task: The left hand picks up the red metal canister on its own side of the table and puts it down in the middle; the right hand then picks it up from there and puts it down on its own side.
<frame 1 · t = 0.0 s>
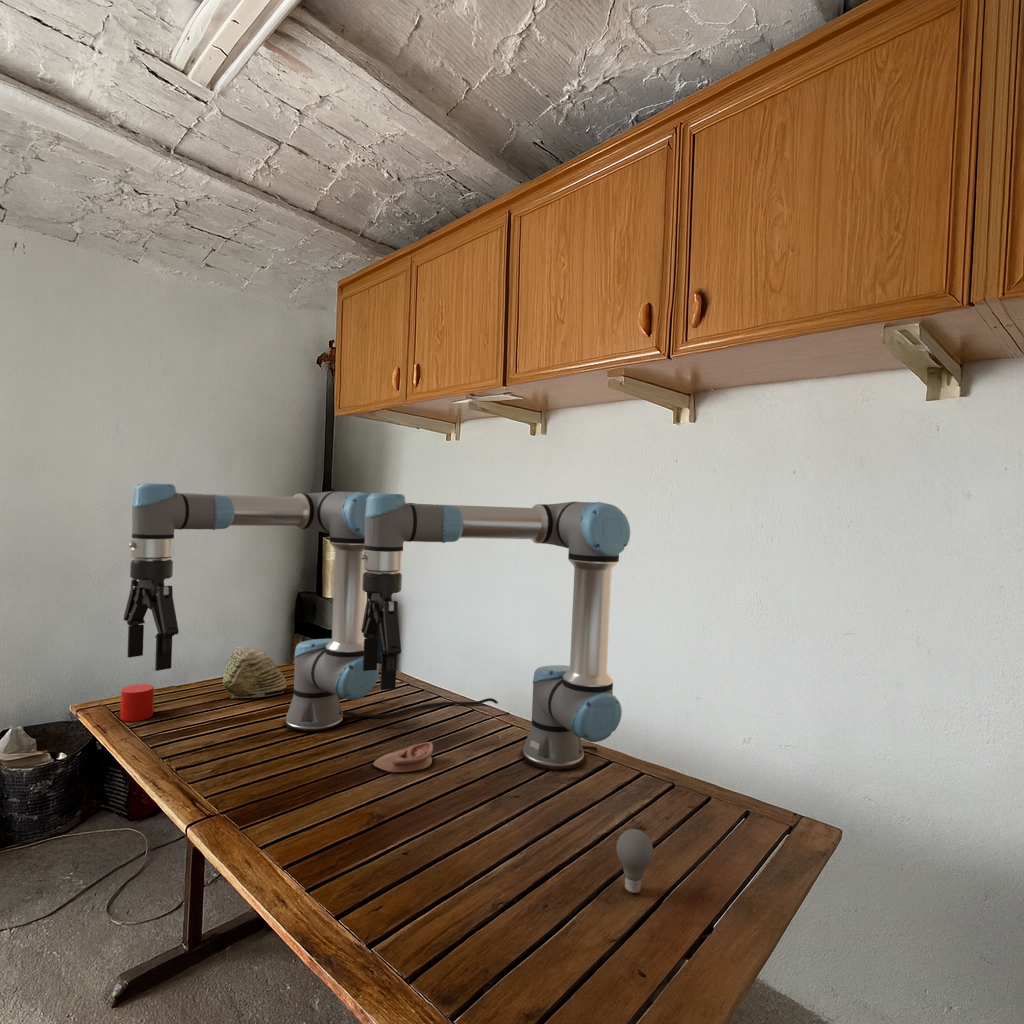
left hand: (148, 662, 129), 28 cm above the table, tool pointing down, fingers open, 13 cm apart
right hand: (378, 679, 125), 28 cm above the table, tool pointing down, fingers open, 13 cm apart
anatomical model: (403, 763, 152), on the table
fossil: (254, 694, 198), on the table
light bulb: (632, 891, 106), on the table
canister: (136, 716, 175), on the table
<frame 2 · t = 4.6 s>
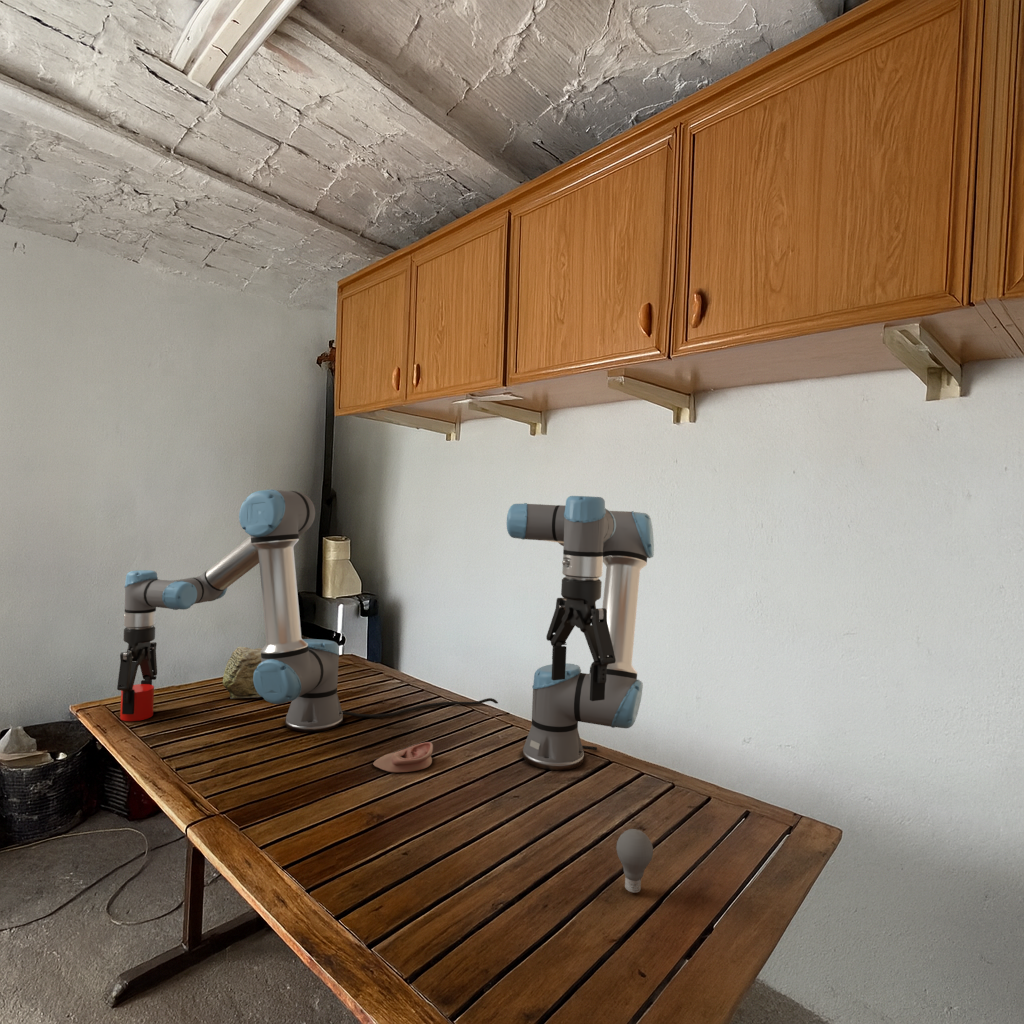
left hand: (137, 708, 175), 2 cm above the table, tool pointing down, fingers closed on canister, 8 cm apart
right hand: (576, 689, 120), 29 cm above the table, tool pointing down, fingers open, 13 cm apart
canister: (136, 716, 175), on the table, touching left hand
everything else where it was.
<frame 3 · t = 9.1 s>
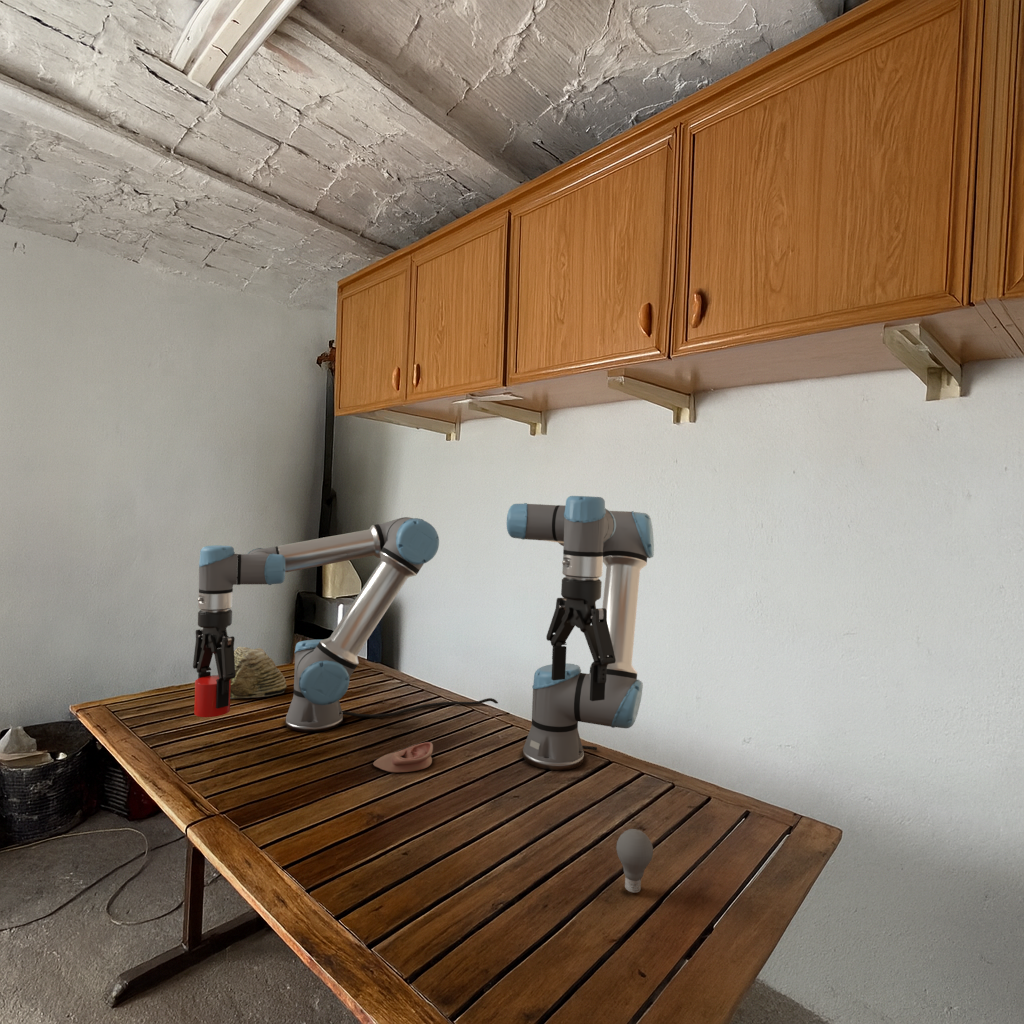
left hand: (212, 702, 154), 12 cm above the table, tool pointing down, fingers closed on canister, 8 cm apart
right hand: (576, 689, 120), 29 cm above the table, tool pointing down, fingers open, 13 cm apart
canister: (212, 711, 154), point 10 cm above the table, touching left hand
everything else where it was.
when the left hand's fingers open (3 cm above the table, at t = 13.8 s): canister drops 1 cm, on the table.
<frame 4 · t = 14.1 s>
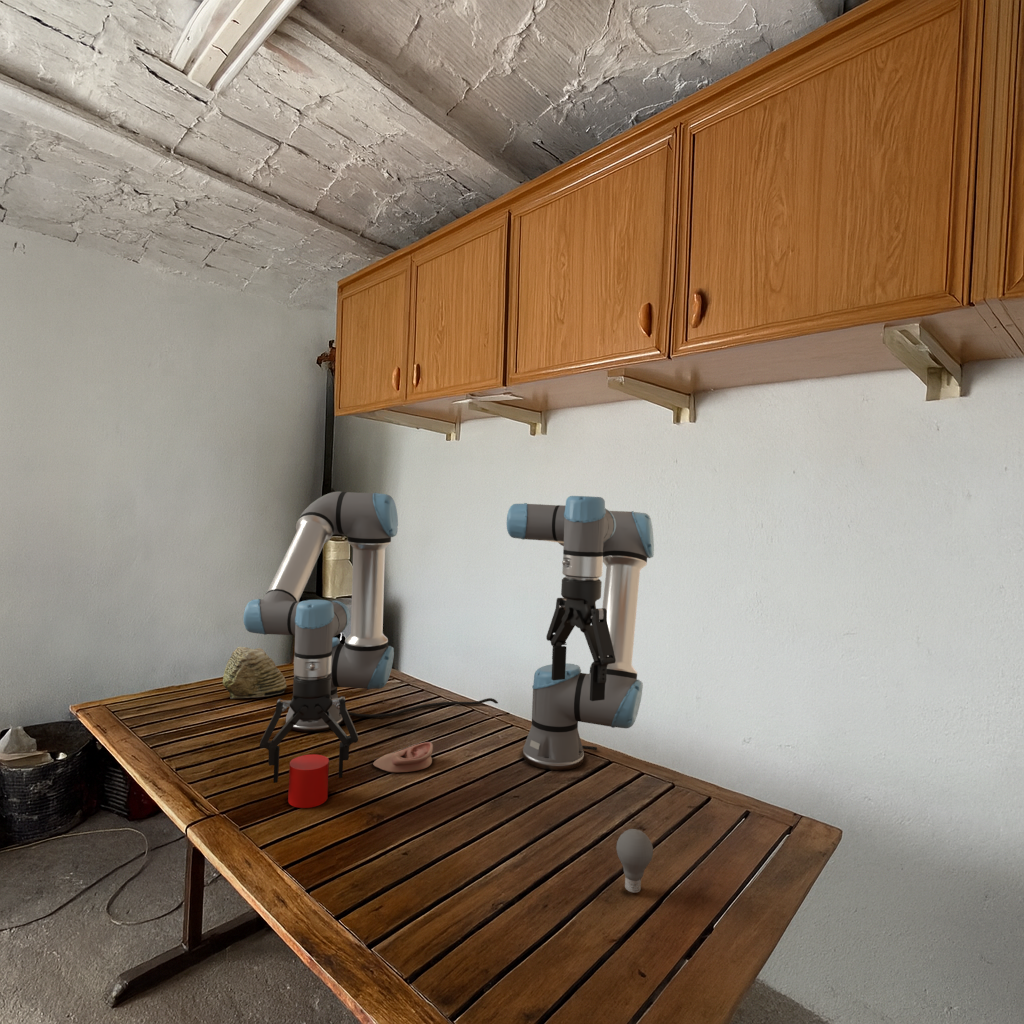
left hand: (308, 777, 132), 5 cm above the table, tool pointing down, fingers open, 12 cm apart
right hand: (576, 689, 120), 29 cm above the table, tool pointing down, fingers open, 13 cm apart
canister: (308, 798, 133), on the table
everything else where it was.
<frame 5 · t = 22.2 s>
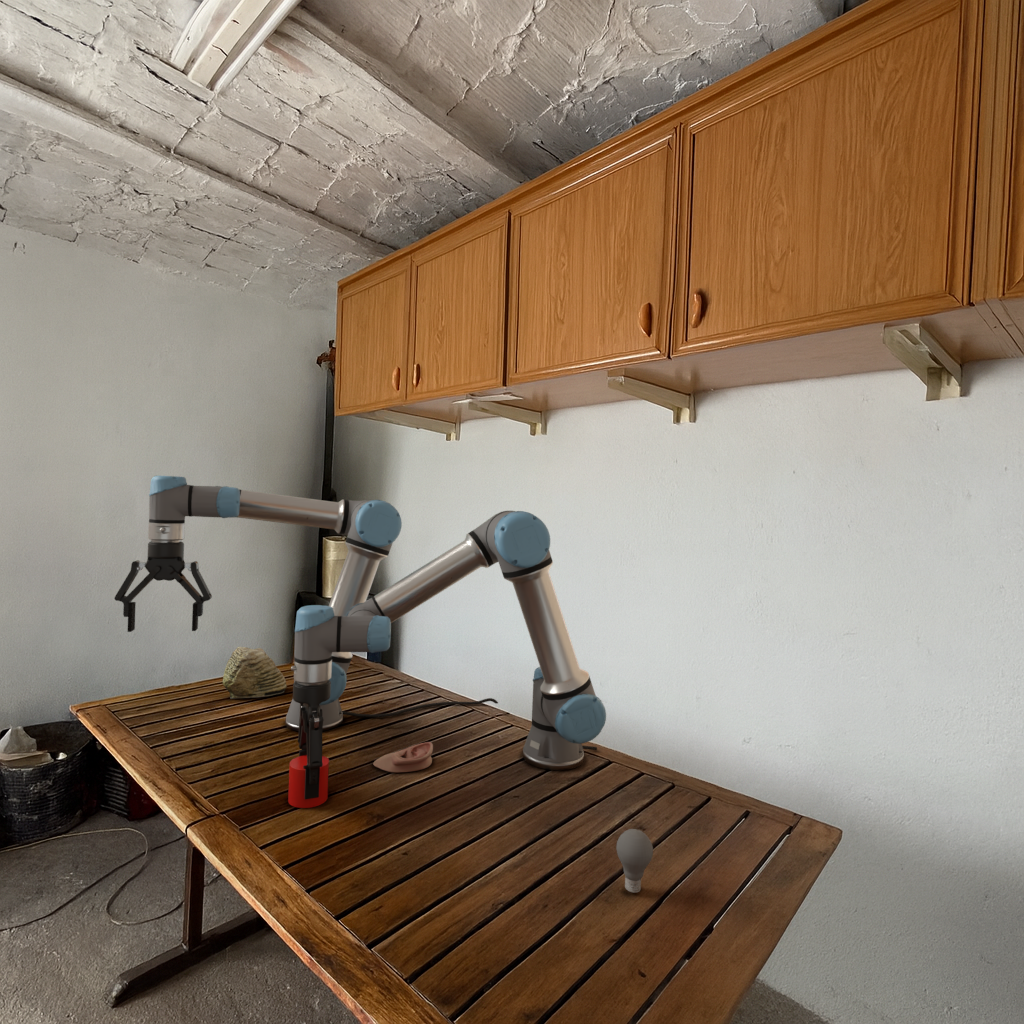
left hand: (163, 630, 150), 30 cm above the table, tool pointing down, fingers open, 13 cm apart
right hand: (308, 788, 133), 2 cm above the table, tool pointing down, fingers closed on canister, 8 cm apart
canister: (308, 798, 133), on the table, touching right hand
everything else where it was.
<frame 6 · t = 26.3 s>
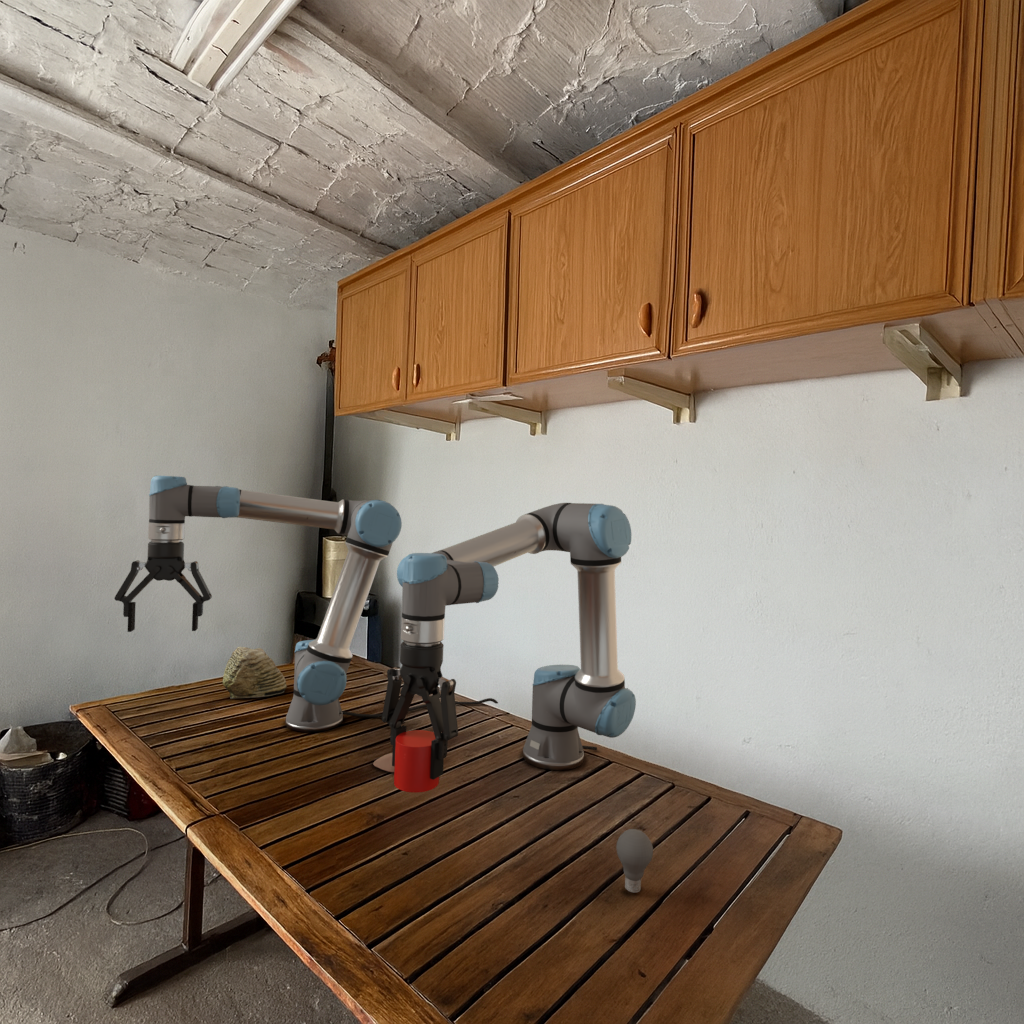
left hand: (163, 630, 150), 30 cm above the table, tool pointing down, fingers open, 13 cm apart
right hand: (417, 769, 112), 16 cm above the table, tool pointing down, fingers closed on canister, 8 cm apart
canister: (416, 782, 112), point 14 cm above the table, touching right hand
everything else where it was.
when the right hand's fingers open (3 cm above the table, at t = 30.4 s): canister stays where it is, on the table.
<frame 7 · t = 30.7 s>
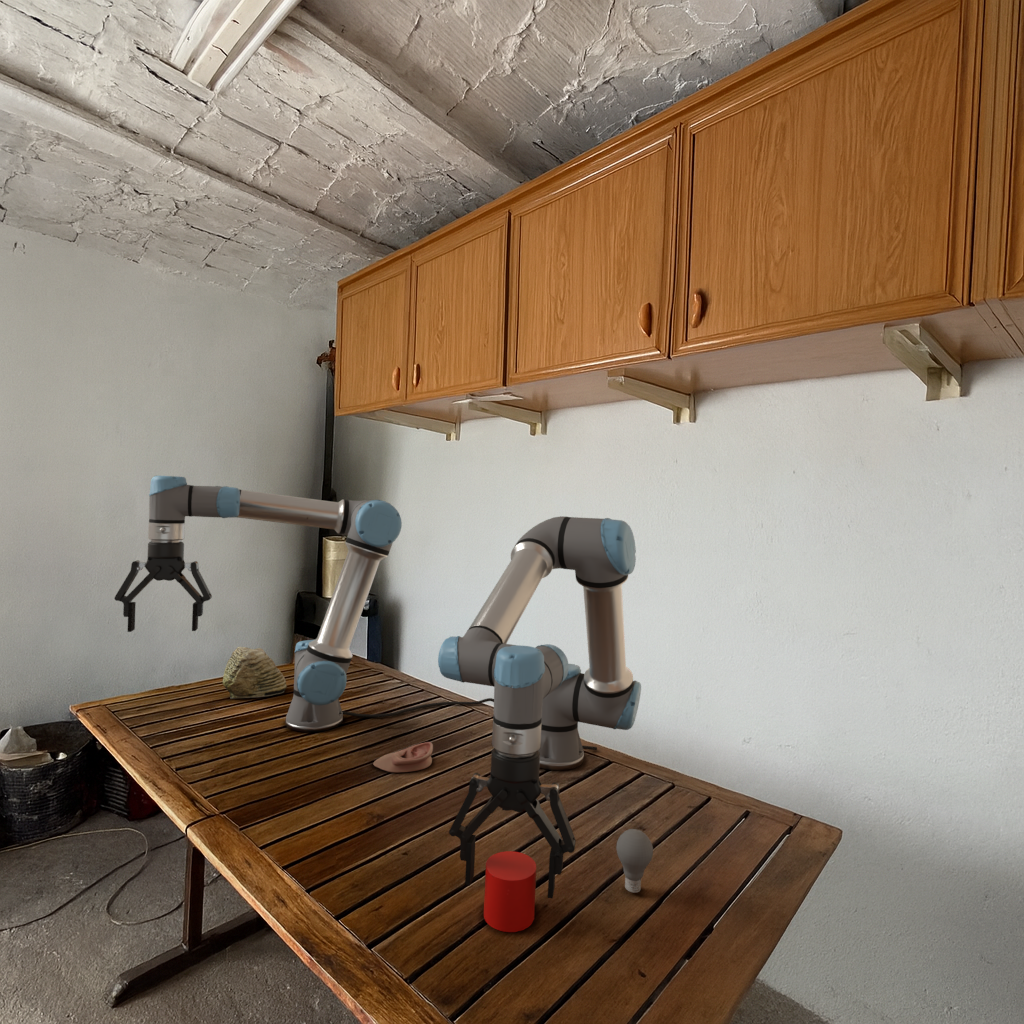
left hand: (163, 630, 150), 30 cm above the table, tool pointing down, fingers open, 13 cm apart
right hand: (509, 886, 98), 5 cm above the table, tool pointing down, fingers open, 12 cm apart
canister: (508, 915, 98), on the table
everything else where it was.
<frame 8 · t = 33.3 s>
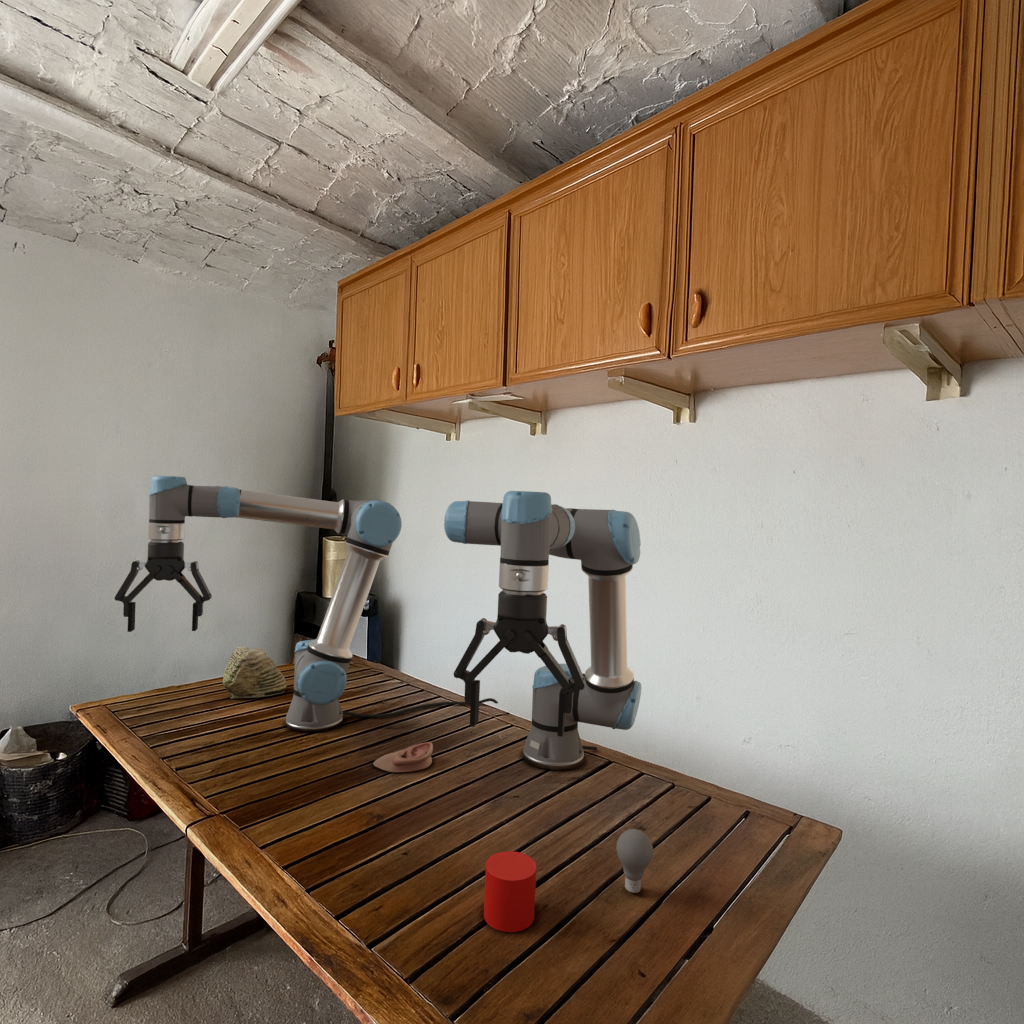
left hand: (163, 630, 150), 30 cm above the table, tool pointing down, fingers open, 13 cm apart
right hand: (516, 728, 98), 29 cm above the table, tool pointing down, fingers open, 13 cm apart
nothing on the table moved.
at the end: canister inside the target area (0.1 cm from its centre), on the table; canister tilted 0°; the two hands never held the canister at the same time; the left hand is holding nothing; the right hand is holding nothing; canister at rest at the end (0.0 cm/s) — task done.
